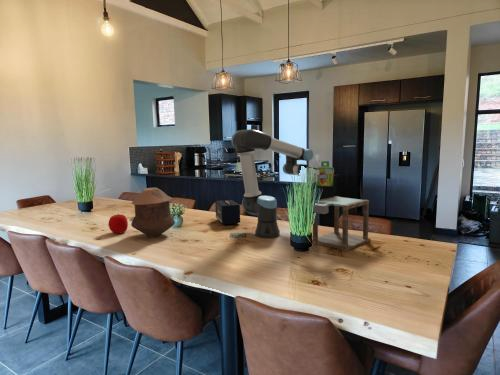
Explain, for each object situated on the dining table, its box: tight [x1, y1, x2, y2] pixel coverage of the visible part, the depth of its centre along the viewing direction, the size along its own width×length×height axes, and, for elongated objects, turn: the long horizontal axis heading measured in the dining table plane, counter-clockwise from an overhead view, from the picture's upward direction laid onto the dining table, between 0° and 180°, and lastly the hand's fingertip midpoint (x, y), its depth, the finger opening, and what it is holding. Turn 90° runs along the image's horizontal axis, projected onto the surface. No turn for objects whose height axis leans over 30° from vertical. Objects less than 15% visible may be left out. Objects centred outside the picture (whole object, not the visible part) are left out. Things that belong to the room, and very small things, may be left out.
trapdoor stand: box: [311, 195, 371, 252], centre depth 191 cm, size 25×23×24 cm
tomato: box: [108, 213, 129, 235], centre depth 220 cm, size 12×12×13 cm
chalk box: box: [316, 160, 335, 187], centre depth 208 cm, size 9×9×15 cm
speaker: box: [215, 199, 241, 226], centre depth 243 cm, size 22×13×15 cm, turn 17°
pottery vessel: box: [130, 187, 176, 238], centre depth 211 cm, size 26×26×30 cm
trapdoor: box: [314, 196, 363, 215], centre depth 184 cm, size 36×16×4 cm, turn 132°
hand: (326, 171), depth 207 cm, fingers closed on chalk box, 12 cm apart
